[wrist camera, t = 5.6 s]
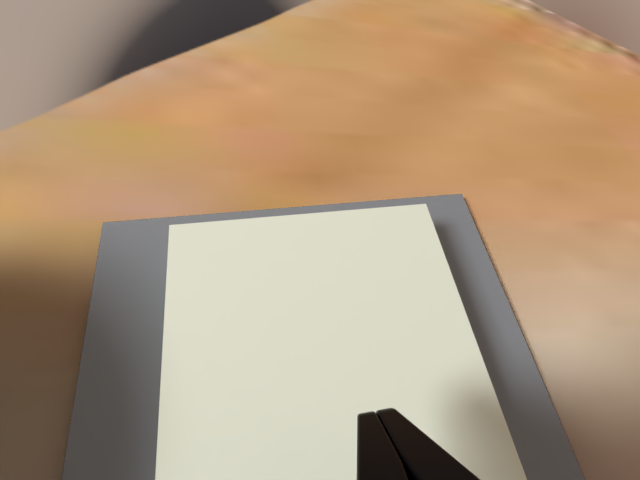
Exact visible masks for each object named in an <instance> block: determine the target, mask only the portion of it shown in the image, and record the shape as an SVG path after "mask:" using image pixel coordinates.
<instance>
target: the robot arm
mask: <svg viewBox="0 0 640 480" xmlns="http://www.w3.org/2000/svg"><path fill="white" fill-rule="evenodd" d="M357 480H480V479H479V478H478V477H477V476H475V475H474V474H473V473H472V472H471V471H469V470H468V469H467V468H466V467H465V466H463V465H462V464H461V463H460V462H459V461H457V460H456V459H455V458H454V457H453V456H451V455H450V454H449V453H448V452H447V451H445V450H444V449H443V448H442V447H441V446H439V445H438V444H437V443H436V442H435V441H433V440H432V439H431V438H430V437H428V436H427V435H426V434H425V433H424V432H422V431H421V430H420V429H419V428H418V427H416V426H415V425H414V424H413V423H412V422H410V421H409V420H408V419H407V418H406V417H404V416H403V415H402V414H401V413H400V412H398V411H397V410H396V409H394V408H387V409H381V410H378V411H376V413H375V412H374V411H370V412H365V413H360V414H358V416H357Z"/></svg>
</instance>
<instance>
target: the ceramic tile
mask: <svg viewBox="0 0 640 480" xmlns="http://www.w3.org/2000/svg"><path fill="white" fill-rule="evenodd" d="M387 408H394V409H396V410H397V411H398V412H400V413H401V414H402V415H403V416H404V417H406V418H407V419H408V420H409V421H410V422H412V423H413V424H414V425H415V426H416V427H418V428H419V429H420V430H421V431H422V432H424V433H425V434H426V435H427V436H428V437H430V438H431V439H432V440H433V441H435V442H436V443H437V444H438V445H439V446H441V447H442V448H443V449H444V450H445V451H447V452H448V453H449V454H450V455H451V456H453V457H454V458H455V459H456V460H457V461H459V462H460V463H461V464H462V465H463V466H465V467H466V468H467V469H468V470H469V471H471V472H472V473H473V474H474V475H475V476H477V477H478V478H479V479H480V480H527V478H526V475H525V473H524V470H523V467H522V465H521V462H520V459H519V456H518V454H517V451H516V448H515V445H514V443H513V440H512V437H511V435H510V432H509V429H508V426H507V424H506V421H505V418H504V415H503V413H502V410H501V407H500V404H499V402H498V399H497V396H496V394H495V391H494V388H493V385H492V383H491V380H490V377H489V374H488V372H487V369H486V366H485V364H484V361H483V358H482V355H481V353H480V350H479V347H478V344H477V342H476V339H475V336H474V333H473V331H472V328H471V325H470V323H469V320H468V317H467V314H466V312H465V309H464V306H463V303H462V301H461V298H460V295H459V293H458V290H457V287H456V284H455V282H454V279H453V276H452V273H451V271H450V268H449V265H448V262H447V260H446V257H445V254H444V252H443V249H442V246H441V243H440V241H439V238H438V235H437V232H436V230H435V227H434V224H433V222H432V219H431V216H430V213H429V211H428V208H427V205H426V204H416V205H404V206H392V207H380V208H368V209H356V210H344V211H332V212H320V213H308V214H296V215H284V216H272V217H260V218H248V219H236V220H224V221H212V222H200V223H188V224H177V225H169V239H168V257H167V275H166V293H165V311H164V329H163V347H162V365H161V383H160V401H159V419H158V437H157V455H156V473H155V480H357V416H358V414H360V413H365V412H370V411H374V412H375V413H376V411H378V410H381V409H387Z"/></svg>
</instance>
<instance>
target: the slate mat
mask: <svg viewBox="0 0 640 480" xmlns="http://www.w3.org/2000/svg"><path fill="white" fill-rule="evenodd" d="M416 204H426V205H427V208H428V211H429V213H430V216H431V219H432V222H433V224H434V227H435V230H436V232H437V235H438V238H439V241H440V243H441V246H442V249H443V252H444V254H445V257H446V260H447V262H448V265H449V268H450V271H451V273H452V276H453V279H454V282H455V284H456V287H457V290H458V293H459V295H460V298H461V301H462V303H463V306H464V309H465V312H466V314H467V317H468V320H469V323H470V325H471V328H472V331H473V333H474V336H475V339H476V342H477V344H478V347H479V350H480V353H481V355H482V358H483V361H484V364H485V366H486V369H487V372H488V374H489V377H490V380H491V383H492V385H493V388H494V391H495V394H496V396H497V399H498V402H499V404H500V407H501V410H502V413H503V415H504V418H505V421H506V424H507V426H508V429H509V432H510V435H511V437H512V440H513V443H514V445H515V448H516V451H517V454H518V456H519V459H520V462H521V465H522V467H523V470H524V473H525V475H526V478H527V480H585V477H584V475H583V473H582V470H581V468H580V466H579V464H578V461H577V459H576V457H575V454H574V452H573V450H572V447H571V445H570V443H569V440H568V438H567V436H566V433H565V431H564V429H563V427H562V424H561V422H560V420H559V417H558V415H557V413H556V410H555V408H554V406H553V403H552V401H551V399H550V396H549V394H548V392H547V390H546V387H545V385H544V383H543V380H542V378H541V376H540V373H539V371H538V369H537V366H536V364H535V362H534V359H533V357H532V355H531V353H530V350H529V348H528V346H527V343H526V341H525V339H524V336H523V334H522V332H521V329H520V327H519V325H518V323H517V320H516V318H515V316H514V313H513V311H512V309H511V306H510V304H509V302H508V299H507V297H506V295H505V292H504V290H503V288H502V286H501V283H500V281H499V279H498V276H497V274H496V272H495V269H494V267H493V265H492V262H491V260H490V258H489V255H488V253H487V251H486V249H485V246H484V244H483V242H482V239H481V237H480V235H479V232H478V230H477V228H476V225H475V223H474V221H473V218H472V216H471V214H470V212H469V209H468V207H467V205H466V202H465V200H464V198H463V195H462V194H453V195H441V196H428V197H416V198H404V199H391V200H379V201H366V202H354V203H341V204H329V205H316V206H304V207H291V208H279V209H266V210H254V211H241V212H229V213H216V214H204V215H191V216H179V217H166V218H154V219H141V220H129V221H116V222H104V223H103V225H102V231H101V238H100V244H99V250H98V256H97V262H96V269H95V275H94V281H93V287H92V293H91V299H90V306H89V312H88V318H87V324H86V330H85V336H84V343H83V349H82V355H81V361H80V367H79V374H78V380H77V386H76V392H75V398H74V404H73V411H72V417H71V423H70V429H69V435H68V441H67V448H66V454H65V460H64V466H63V472H62V479H61V480H155V473H156V455H157V437H158V419H159V401H160V383H161V365H162V347H163V329H164V311H165V293H166V275H167V257H168V239H169V225H177V224H188V223H200V222H212V221H224V220H236V219H248V218H260V217H272V216H284V215H296V214H308V213H320V212H332V211H344V210H356V209H368V208H380V207H392V206H404V205H416Z"/></svg>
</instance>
